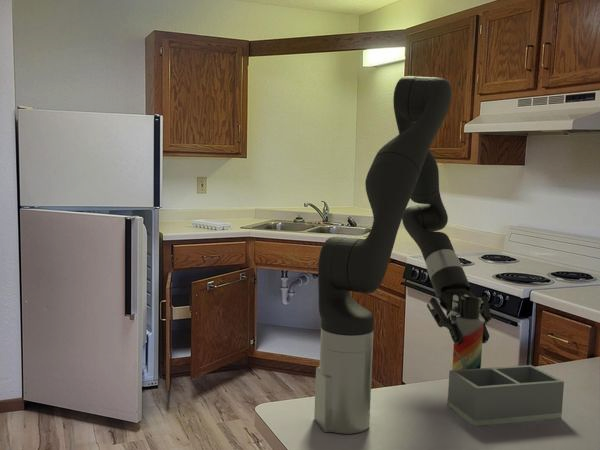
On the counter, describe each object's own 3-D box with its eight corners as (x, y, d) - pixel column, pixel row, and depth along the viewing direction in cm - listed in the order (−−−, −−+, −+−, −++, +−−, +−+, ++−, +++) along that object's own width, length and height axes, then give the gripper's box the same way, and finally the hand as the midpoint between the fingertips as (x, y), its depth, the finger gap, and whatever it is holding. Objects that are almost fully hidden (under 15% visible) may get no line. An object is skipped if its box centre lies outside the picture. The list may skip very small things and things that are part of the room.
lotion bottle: (448, 390, 122) (453, 296, 121) (454, 382, 127) (459, 291, 126) (476, 396, 120) (482, 299, 118) (481, 387, 125) (487, 294, 123)
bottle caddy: (474, 426, 105) (476, 388, 105) (447, 405, 114) (449, 370, 114) (561, 417, 110) (564, 381, 110) (528, 398, 119) (531, 365, 119)
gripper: (423, 265, 127) (448, 334, 116) (482, 264, 130) (511, 331, 120) (411, 284, 132) (434, 352, 122) (468, 283, 136) (495, 349, 126)
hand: (472, 341), depth 121 cm, fingers closed on lotion bottle, 5 cm apart
